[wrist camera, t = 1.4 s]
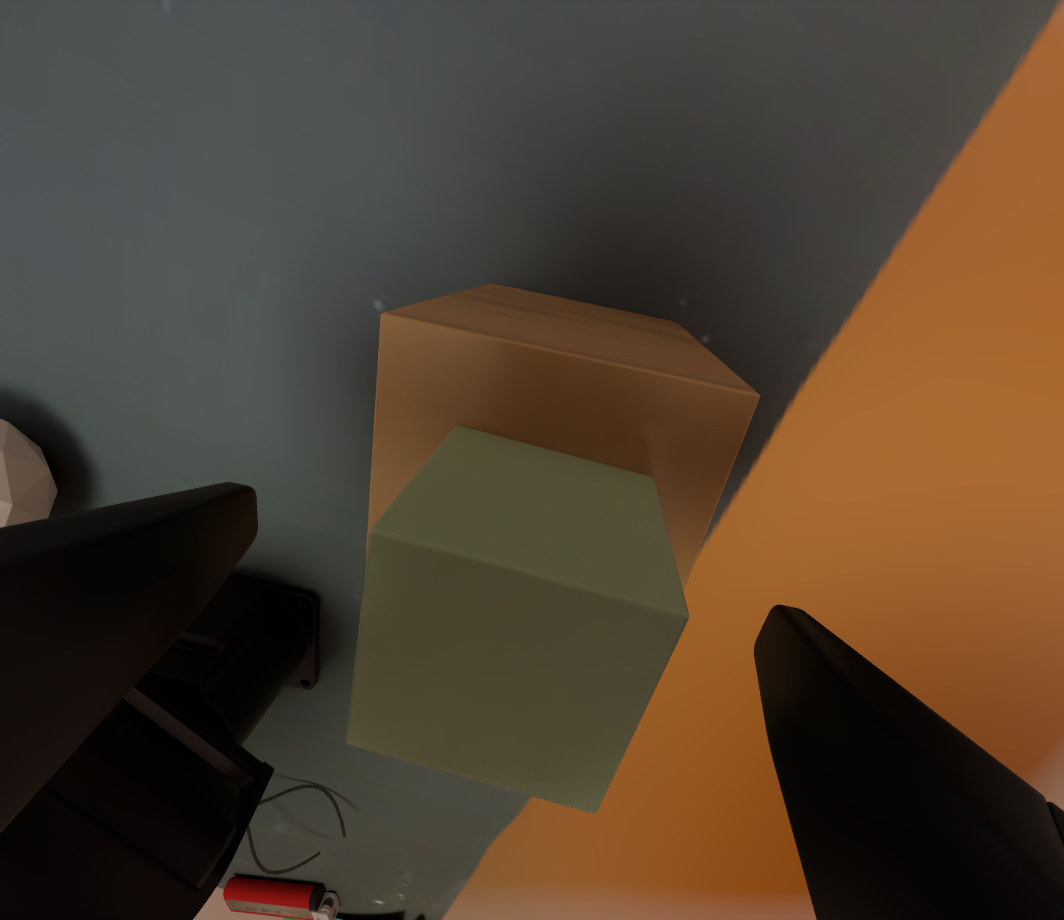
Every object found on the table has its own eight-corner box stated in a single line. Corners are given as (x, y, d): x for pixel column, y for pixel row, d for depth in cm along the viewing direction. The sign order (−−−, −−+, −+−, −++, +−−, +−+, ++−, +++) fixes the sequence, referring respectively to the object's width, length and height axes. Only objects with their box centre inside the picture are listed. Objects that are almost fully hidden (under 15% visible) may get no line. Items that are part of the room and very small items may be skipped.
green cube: (597, 630, 11) (596, 817, 7) (427, 583, 11) (343, 745, 7) (655, 476, 9) (693, 616, 6) (455, 422, 10) (367, 529, 6)
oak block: (626, 490, 21) (649, 679, 11) (465, 453, 21) (361, 610, 12) (677, 322, 18) (763, 394, 9) (489, 282, 18) (379, 312, 9)
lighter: (244, 895, 38) (341, 906, 36) (233, 915, 36) (333, 927, 35) (233, 872, 36) (333, 883, 35) (221, 893, 35) (324, 904, 34)
